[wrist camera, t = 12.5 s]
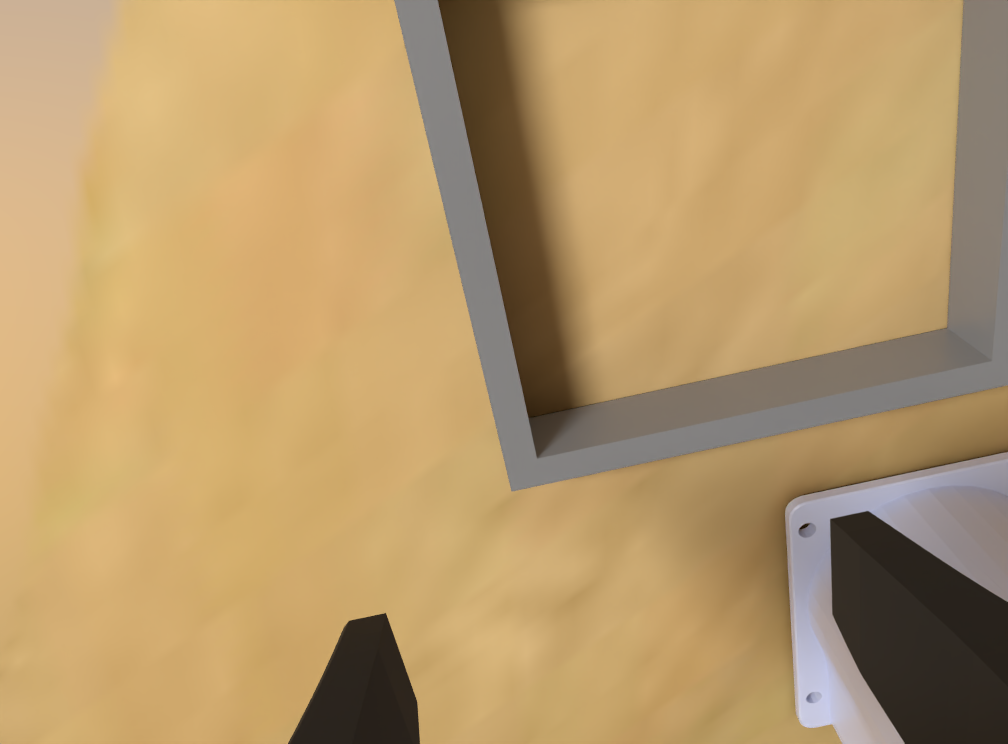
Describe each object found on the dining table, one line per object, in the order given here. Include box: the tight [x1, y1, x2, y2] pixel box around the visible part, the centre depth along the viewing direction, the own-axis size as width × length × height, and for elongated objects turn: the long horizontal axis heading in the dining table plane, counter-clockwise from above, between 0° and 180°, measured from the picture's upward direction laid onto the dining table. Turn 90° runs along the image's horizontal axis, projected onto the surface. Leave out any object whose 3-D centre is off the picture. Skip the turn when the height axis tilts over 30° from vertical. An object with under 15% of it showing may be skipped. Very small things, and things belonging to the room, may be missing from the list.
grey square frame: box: [394, 0, 1008, 491], centre depth 19 cm, size 13×13×2 cm
